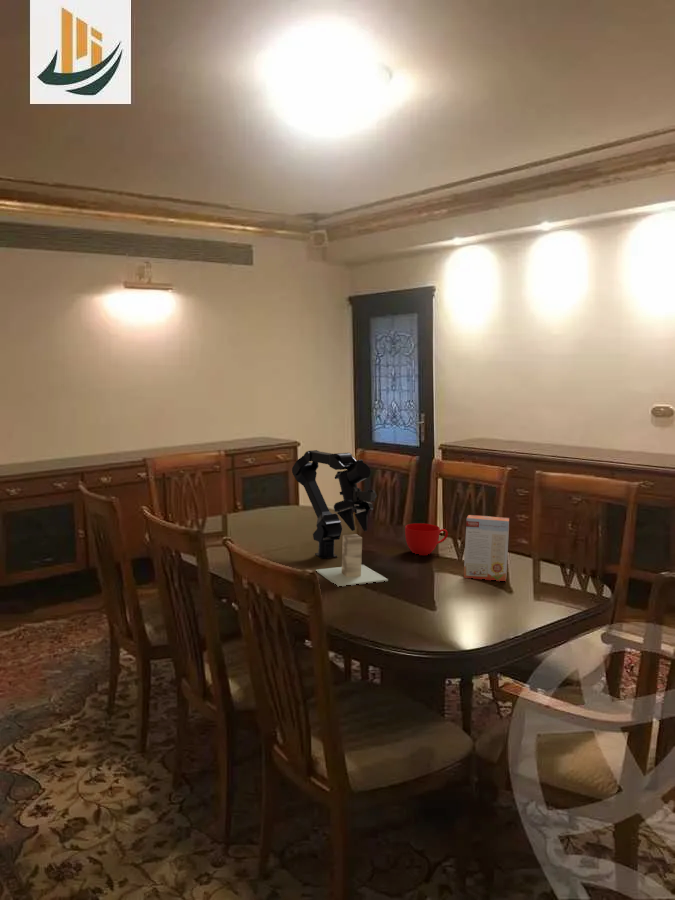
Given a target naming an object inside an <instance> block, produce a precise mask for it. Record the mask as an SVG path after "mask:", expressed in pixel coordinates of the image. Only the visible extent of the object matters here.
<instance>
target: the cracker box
mask: <svg viewBox="0 0 675 900" xmlns="http://www.w3.org/2000/svg"><path fill="white" fill-rule="evenodd" d="M465 526H466V527H465V544H464V561H463V562H464V563H463V565H464V567H463V578H464V579H471V578H473V579H472V580H482V579H485V580H484V581H491V580H496V581H495V582H500V581H505V582H506V580H507V571H508V570H507V569H508V552H509V535H510V534H509V531H510V517H501V516H500V517H499V516H498V517H497V516H490V515H489V516H488V515H473V514H468V515H467V517H466V523H465Z"/></svg>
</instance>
